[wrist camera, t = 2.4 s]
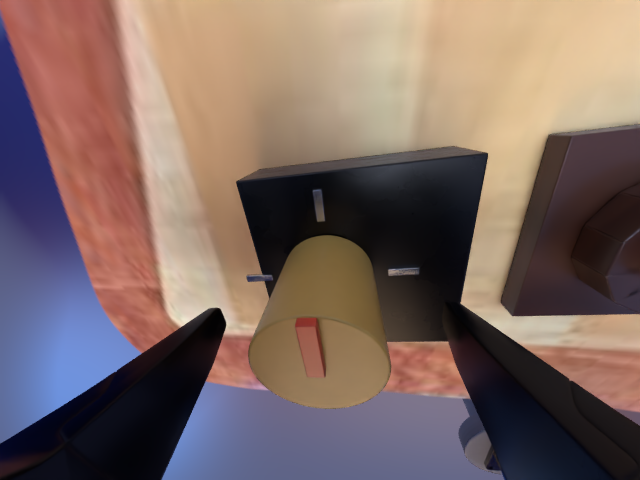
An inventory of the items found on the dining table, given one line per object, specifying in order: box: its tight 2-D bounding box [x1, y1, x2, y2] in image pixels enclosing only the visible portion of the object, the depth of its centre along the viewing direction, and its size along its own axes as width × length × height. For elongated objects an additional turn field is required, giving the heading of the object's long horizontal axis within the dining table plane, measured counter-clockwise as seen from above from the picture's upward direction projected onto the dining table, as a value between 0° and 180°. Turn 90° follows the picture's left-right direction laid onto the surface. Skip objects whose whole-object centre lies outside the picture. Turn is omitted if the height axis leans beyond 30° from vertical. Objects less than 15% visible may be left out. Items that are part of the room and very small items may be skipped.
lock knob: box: [248, 235, 391, 409], centre depth 9 cm, size 4×4×5 cm
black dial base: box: [236, 146, 488, 342], centre depth 13 cm, size 10×11×3 cm
